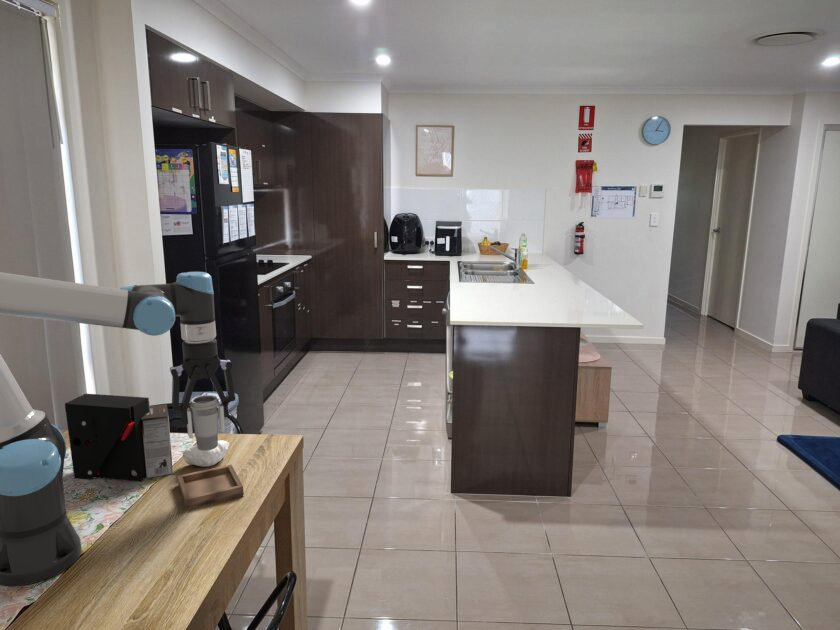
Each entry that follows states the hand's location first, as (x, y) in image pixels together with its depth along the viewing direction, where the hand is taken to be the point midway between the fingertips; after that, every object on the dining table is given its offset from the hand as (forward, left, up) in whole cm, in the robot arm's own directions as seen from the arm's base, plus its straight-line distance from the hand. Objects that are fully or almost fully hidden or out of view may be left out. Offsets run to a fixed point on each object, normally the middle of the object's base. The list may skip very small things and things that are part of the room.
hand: (206, 432), depth 142 cm
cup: (0, 0, -4) cm, 4 cm away
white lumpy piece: (+2, +15, -15) cm, 21 cm away
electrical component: (-20, +21, -15) cm, 32 cm away
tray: (0, 0, -15) cm, 15 cm away
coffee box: (-10, +18, -15) cm, 26 cm away
